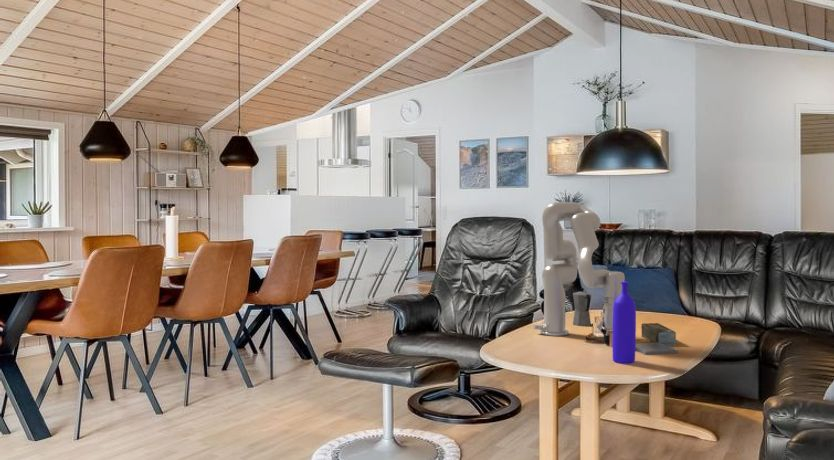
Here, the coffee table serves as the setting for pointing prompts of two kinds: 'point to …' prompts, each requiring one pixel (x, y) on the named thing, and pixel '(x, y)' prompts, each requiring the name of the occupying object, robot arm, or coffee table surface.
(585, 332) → the coffee table surface
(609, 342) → the cube
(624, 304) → the bottle
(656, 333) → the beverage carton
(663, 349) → the coaster
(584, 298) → the coffeepot
